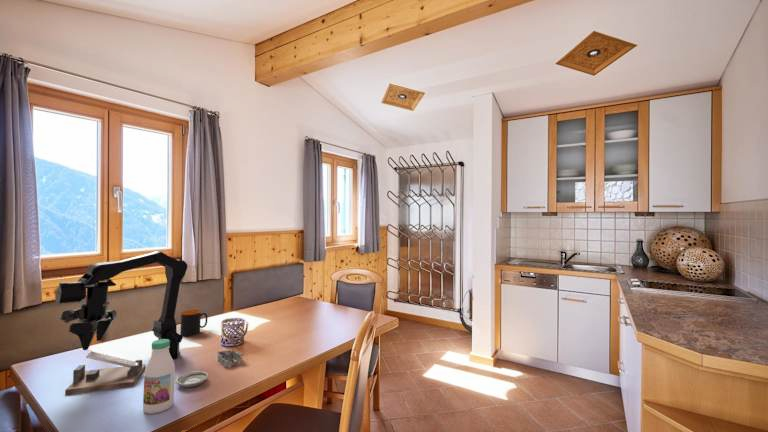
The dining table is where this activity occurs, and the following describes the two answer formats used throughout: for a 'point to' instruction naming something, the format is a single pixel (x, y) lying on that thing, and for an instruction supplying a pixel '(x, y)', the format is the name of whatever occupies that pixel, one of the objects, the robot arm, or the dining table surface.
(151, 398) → the milk bottle
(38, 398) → the dining table surface
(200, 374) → the saucer
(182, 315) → the mug
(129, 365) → the bar
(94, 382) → the base
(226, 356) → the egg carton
